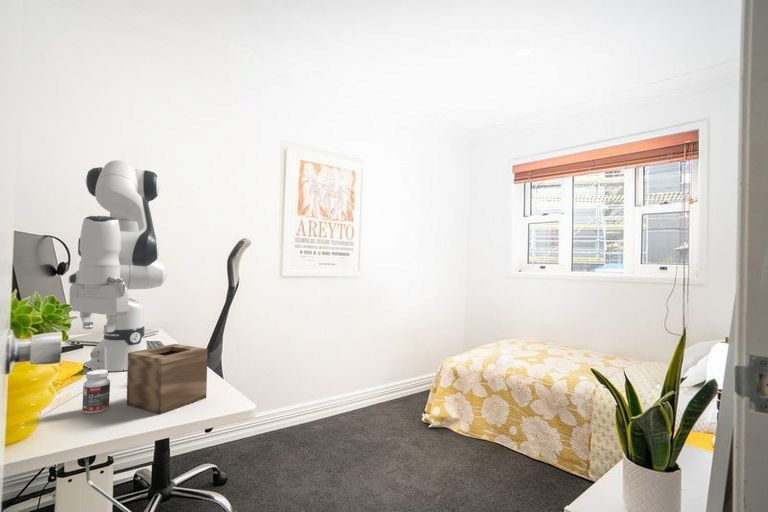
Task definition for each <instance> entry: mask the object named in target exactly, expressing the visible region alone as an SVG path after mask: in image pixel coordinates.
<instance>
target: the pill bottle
mask: <svg viewBox="0 0 768 512" xmlns="http://www.w3.org/2000/svg"><path fill="white" fill-rule="evenodd" d="M108 376H109V372H108V370H94V371H92V370H90V371H87V372H86V375H85V378H86V381H84V382H83V385H82V386H83V387H82V389H83V390H82V407H81V410H82V413H84V414H89V415H90V414H91V415H93V414H98V413H102V412H104V411H107V410H108V409H109V408H110V396H111V395H110V392H111V380H110V379H109V378H108Z"/></svg>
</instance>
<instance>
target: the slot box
mask: <svg viewBox="0 0 768 512" xmlns="http://www.w3.org/2000/svg"><path fill="white" fill-rule="evenodd" d="M208 351H209V350H208V348H203V347H197V346H191V345H185V344H178V343H172V344H166V345H163V346H156V347H152V348H147V349H145V350H140V351H135V352H130V353H128V370H126V371H127V373H126V374H127V377H126V379H127V380H126V406H129V407H132V408H136V409H140V410H144V411H147V412H151V413H154V414H158V415H162V414H165V413H168V412H171V411H173V410H177V409H179V408H183V407H185V406H188V405H191V404H194V403H196V402H199V401H202V400H205V399H207V393H208V392H207V391H208V390H207V385H208V384H207V383H208ZM204 398H205V399H204Z"/></svg>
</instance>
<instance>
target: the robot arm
mask: <svg viewBox="0 0 768 512" xmlns="http://www.w3.org/2000/svg"><path fill="white" fill-rule="evenodd" d="M85 185H86V189H87V191H88V193H89V194H90V195H91V196H92V197H95V200H96V201H97V203H98V204H99V205H100V206H101V208H103V209H104V210H106V211H107V212H109V216H106V215H89V216H86V217H84V218H83V221H82V225H81V231H80V237H79V238H78V241H77V243H78V244H77V247H78V249H77V254H78V256H80V261H79V264H78V270H77V271H75V272H74V273H72V274H70V275H69V276H68V284H71V285H70V286H69V306H70V305H71V306H72V307H73V309H71V311H72V312H79V317H80V320H81V322H82V329H83V330H92V329H93V328H94V321H92V317H91V316H92V314H98V315H106V320H107V321H106V324H104V325H103V337H102V338H103V340H101V341H100V342H99V343H98V344H97V345H96V346H94V347H93V348H92V350H91V351H90V354H89V355H90V360H88V361H84V362H83V363H84V365H86V366H87V367H89V368H91V369H93V370H108V371H109V372H123V370H124V372H125V371H128V353H130V352H135V351H140V350H145V349H148V343H147V340H146V339H145V338H144V337H145V333H146V330H145V326H144V313H145V312H144V310H145V308H144V306H143V305H142V303H141V302H139V301H138V300H135V299H133V298H130V297H129V291H128V290H149V289H154V288H158V287H161V286H162V285H163V284H164V283H165V281H166V280H167V275H168V273H167V269H166V266H165V265H164V264H163V263H162V262H161V261H159V260H158V258H159V255H160V245H159V241H158V239H157V236H156V232H155V229H154V223H153V218H152V214H151V213H152V212H151V208H150V204H149V203H150V202H152V201H154V200H155V199H156V198H157V197H158V196H159V194H160V191H161V181H160V179H159V177H158V175H157V173H156V172H154V171H151V170H146V169H145V170H142V169H138V168H137V169H136V168H135V167H133V166H132V165H131V164H130V163H129V162H127V161H124V160H119V159H117V160H116V159H115V160H111V161H108V162H107V163H106V164H105V165H104V167H102V166H101V167H100V166H99V167H93V168H91V169H90V170H88V171H87V175H86V176H85Z"/></svg>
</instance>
